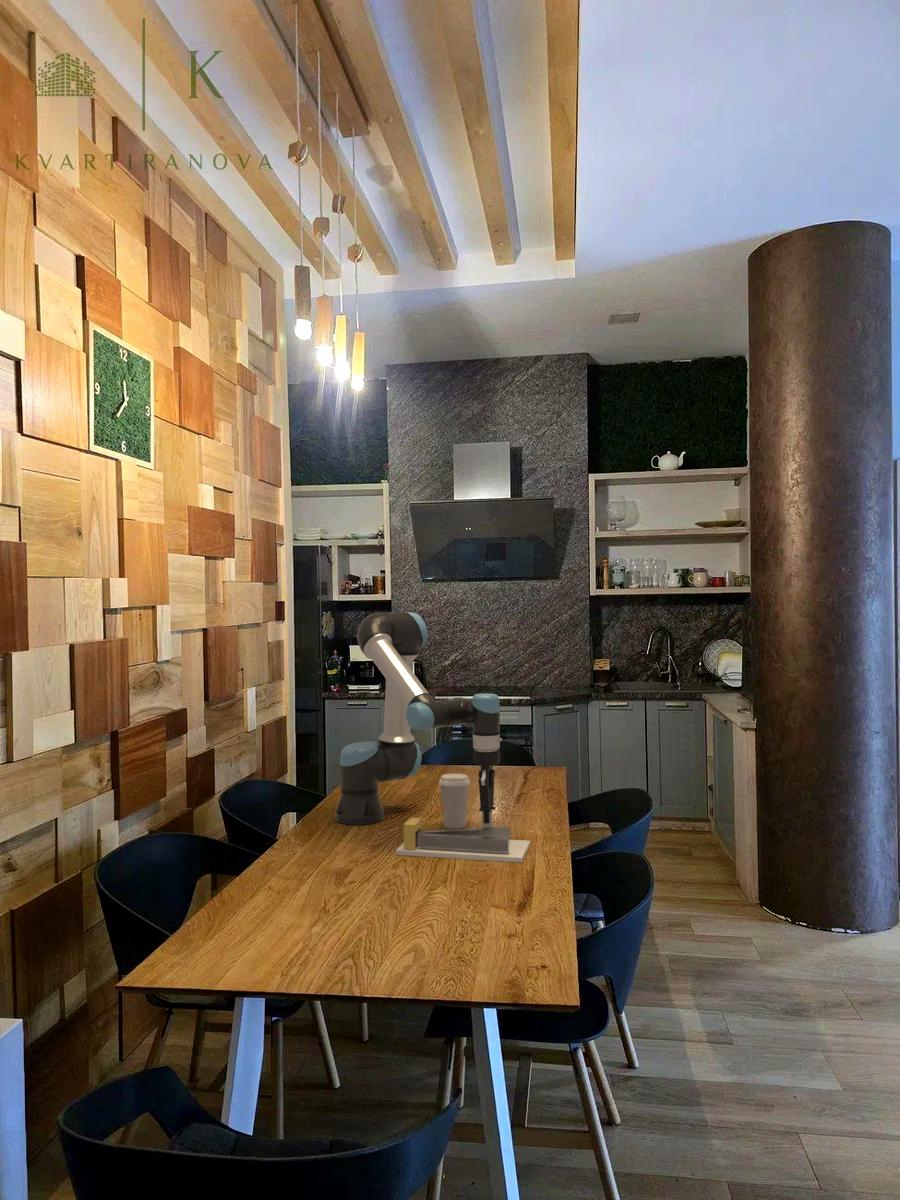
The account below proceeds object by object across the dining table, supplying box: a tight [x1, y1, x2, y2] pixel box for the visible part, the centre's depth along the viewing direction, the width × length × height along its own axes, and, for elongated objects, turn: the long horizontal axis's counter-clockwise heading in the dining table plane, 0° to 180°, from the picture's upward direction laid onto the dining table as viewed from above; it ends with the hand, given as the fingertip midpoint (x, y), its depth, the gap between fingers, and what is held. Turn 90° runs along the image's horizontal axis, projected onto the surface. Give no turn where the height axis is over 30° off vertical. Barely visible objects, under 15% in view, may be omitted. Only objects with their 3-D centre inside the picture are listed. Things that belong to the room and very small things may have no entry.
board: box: [395, 839, 531, 863], centre depth 228 cm, size 34×16×1 cm, turn 77°
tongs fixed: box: [415, 830, 509, 854], centre depth 225 cm, size 28×4×4 cm, turn 77°
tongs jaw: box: [422, 826, 511, 841], centre depth 230 cm, size 24×2×4 cm, turn 99°
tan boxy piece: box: [403, 817, 423, 849], centre depth 228 cm, size 3×8×6 cm, turn 167°
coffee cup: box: [438, 773, 471, 829], centre depth 253 cm, size 10×10×15 cm
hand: (487, 833), depth 234 cm, fingers closed
